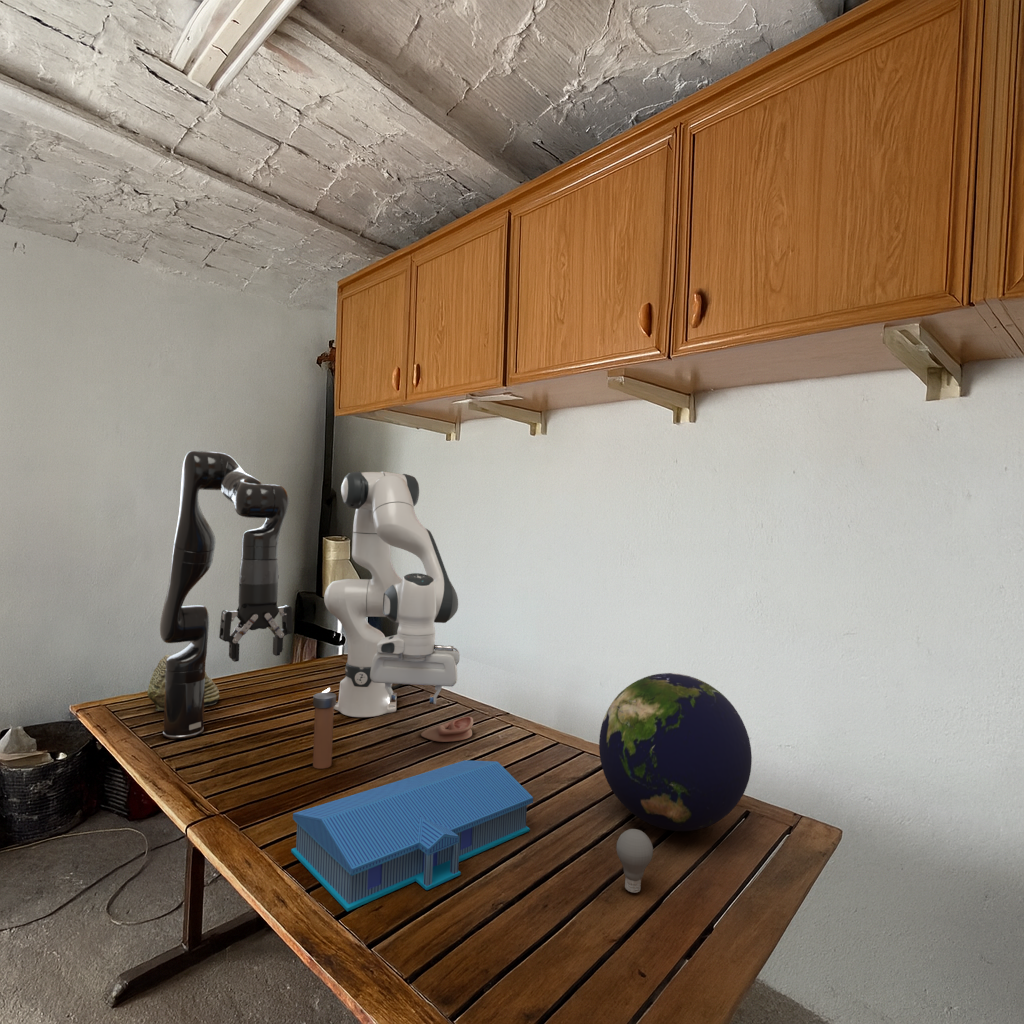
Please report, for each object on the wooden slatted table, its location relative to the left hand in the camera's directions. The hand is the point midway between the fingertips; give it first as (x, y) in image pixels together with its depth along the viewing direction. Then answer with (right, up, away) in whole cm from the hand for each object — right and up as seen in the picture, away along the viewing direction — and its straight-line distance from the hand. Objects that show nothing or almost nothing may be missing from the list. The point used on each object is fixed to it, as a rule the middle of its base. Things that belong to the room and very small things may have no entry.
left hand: (256, 657), depth 132 cm
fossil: (-43, -27, +53) cm, 73 cm away
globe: (+85, -33, -3) cm, 92 cm away
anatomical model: (+36, -30, +40) cm, 61 cm away
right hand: (+30, -14, +17) cm, 37 cm away
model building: (+36, -31, -15) cm, 50 cm away
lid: (+9, -13, +17) cm, 24 cm away
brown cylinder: (+8, -29, +18) cm, 35 cm away
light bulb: (+73, -33, -26) cm, 85 cm away
